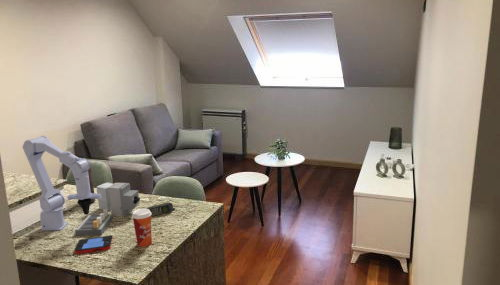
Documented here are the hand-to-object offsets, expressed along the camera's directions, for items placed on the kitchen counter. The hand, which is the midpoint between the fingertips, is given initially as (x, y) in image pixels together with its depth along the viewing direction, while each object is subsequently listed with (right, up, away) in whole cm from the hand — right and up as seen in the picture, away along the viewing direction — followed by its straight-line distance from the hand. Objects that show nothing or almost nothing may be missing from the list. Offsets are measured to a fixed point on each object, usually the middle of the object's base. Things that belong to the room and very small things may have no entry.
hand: (86, 213), depth 186 cm
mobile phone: (+30, -4, +22) cm, 37 cm away
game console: (+7, -13, -9) cm, 17 cm away
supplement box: (0, -2, +30) cm, 30 cm away
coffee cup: (+29, -12, -9) cm, 33 cm away
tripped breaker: (+4, -6, +1) cm, 8 cm away
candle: (-14, -1, +38) cm, 41 cm away
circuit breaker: (+12, -4, +23) cm, 26 cm away
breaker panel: (+1, -8, +8) cm, 11 cm away
